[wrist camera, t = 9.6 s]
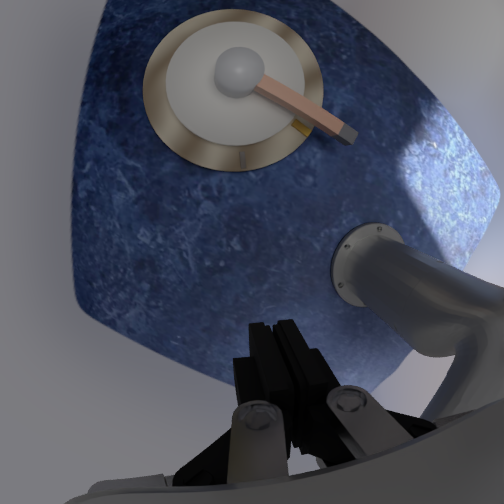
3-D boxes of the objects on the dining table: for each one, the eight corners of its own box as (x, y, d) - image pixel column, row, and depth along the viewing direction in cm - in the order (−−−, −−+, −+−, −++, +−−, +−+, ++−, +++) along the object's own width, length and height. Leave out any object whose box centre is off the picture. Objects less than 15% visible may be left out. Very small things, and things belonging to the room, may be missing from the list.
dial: (142, 110, 31) (131, 101, 26) (210, 9, 28) (212, -13, 23) (308, 196, 37) (324, 200, 31) (362, 93, 34) (384, 85, 29)
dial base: (347, 77, 35) (353, 73, 33) (256, 205, 38) (259, 207, 36) (214, -9, 29) (215, -16, 27) (111, 113, 32) (107, 111, 30)
